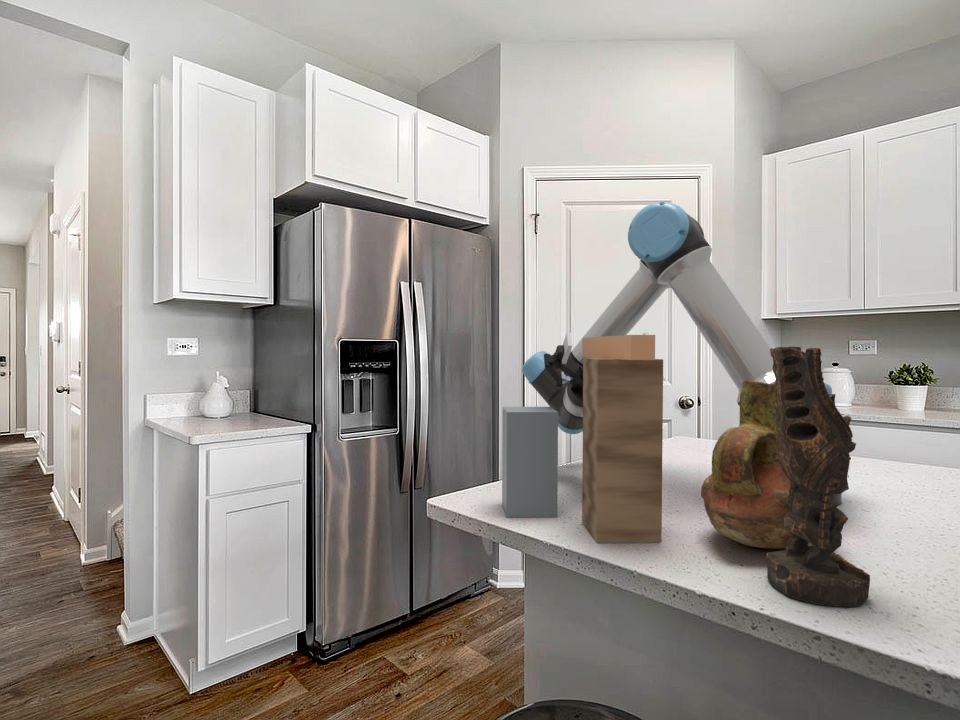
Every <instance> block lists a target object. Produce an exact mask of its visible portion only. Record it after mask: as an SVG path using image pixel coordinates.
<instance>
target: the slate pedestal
mask: <svg viewBox="0 0 960 720" xmlns="http://www.w3.org/2000/svg"><path fill="white" fill-rule="evenodd" d="M501 410H502V413H501V414H502V425H501V426H502V428H501V429H502V430H501V431H502V432H501V434H502V436H501V437H502V438H501V441H502V443H501V444H502V445H501V447H502V450H501V451H502V453H501V455H502V457H501V460H502V461H501V463H502V464H501V465H502V466H501V468H502V469H501V470H502V471H501V475H502V476H501V481H502V482H501V488H502V489H501V504H502V509H503V511H504V514H505V517H506V519H507V518H510V519H512V518H513V519H515V518H525V519H526V518H528V519H529V517H531V518H558V512H559V511H558V509H559V508H558V505H559V504H558V501H559V500H558V499H559V498H558V491H559V489H558V488H559V487H558V485H559V484H558V483H559V481H558V480H559V479H558V477H559V476H558V474H559V473H558V472H559V465H558V463H559V427H558V412H557V411H556V410H554V409H552V408H551V407H550V406H502V409H501Z"/></svg>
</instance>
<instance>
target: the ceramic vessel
mask: <svg viewBox="0 0 960 720" xmlns="http://www.w3.org/2000/svg"><path fill="white" fill-rule="evenodd" d="M776 389H777V388H776V385H775V384H770V383H763V382H754V381H749V380H744V381H743V383H742V388H741V393H740V406H739V424H738V426H734V427H730V428H728V429H726V430H725V431H724V432H723V433H722V434H721V435H720V436H719V437H718V439H717V441H716V442H715V445H714V447H713V449H712V455H711V474H709V475H708V476H707V477H706V478H705V480H703V483H702V485H701V488H700V496H701V498H702V499H703V504H704V509H705V512H706V515H707V517H708V518H709V522H710V524H711V525H712V526H713V529H715V530H716V531H717V532H718V533H719V534H721V535H722V536H724V537H726V538H727V539H731V540H732V541H735V542H737V543H739V544H741V545H744V546H748V547H751V548H756V549H757V548H758V549H769V550H770V549H771V550H772V549H773V550H777V549H778V550H786V546H787V544H788V541H789V537H790V531H788V530H787V528H786V527H785V526H784V517H785V515H786V514H787V509H788V506H787V505H788V496H789V495H790V494H789V489H790V488H791V486H790V482H791V481H790V480H789V479H788V478H787V477H786V476H785V475H784V473H783V471H782V468H781V466H780V462H779V458H778V454H777V446H776V435H777V426H776V422H775V415H776V413H777V412H778V411H777V403H776V401H777V393H776ZM829 502H830V501H829Z"/></svg>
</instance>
